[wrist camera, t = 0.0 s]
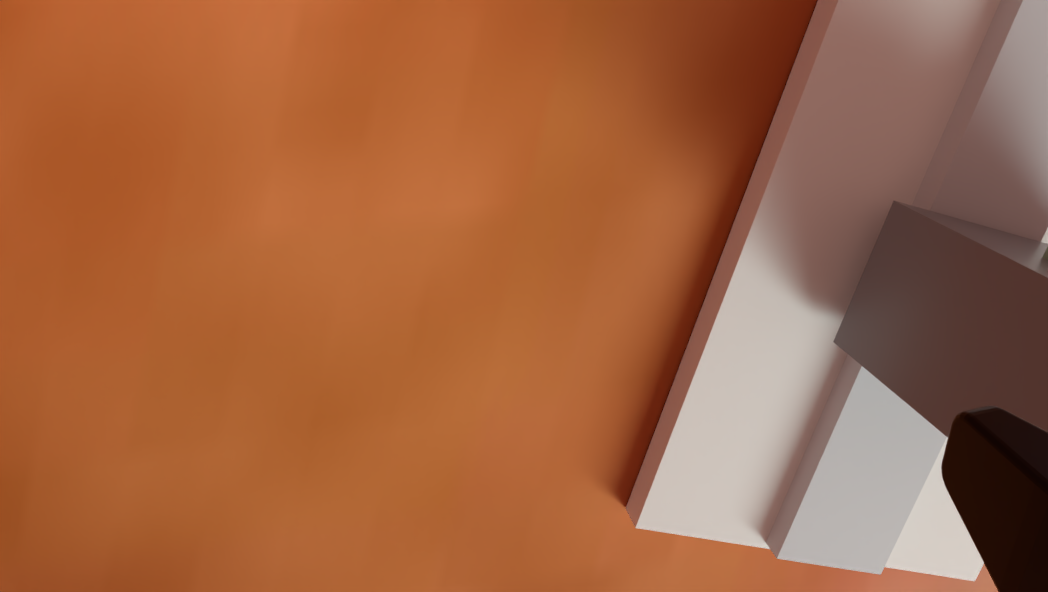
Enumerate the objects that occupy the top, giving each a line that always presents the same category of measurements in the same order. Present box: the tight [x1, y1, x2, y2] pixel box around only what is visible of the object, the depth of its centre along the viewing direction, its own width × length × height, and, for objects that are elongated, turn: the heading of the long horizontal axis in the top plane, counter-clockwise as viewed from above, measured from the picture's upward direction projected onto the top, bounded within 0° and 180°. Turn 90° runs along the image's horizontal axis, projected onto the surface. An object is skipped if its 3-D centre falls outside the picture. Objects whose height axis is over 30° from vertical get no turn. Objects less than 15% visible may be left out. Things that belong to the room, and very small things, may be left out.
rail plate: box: [626, 0, 1048, 581], centre depth 26 cm, size 20×12×3 cm, turn 162°
